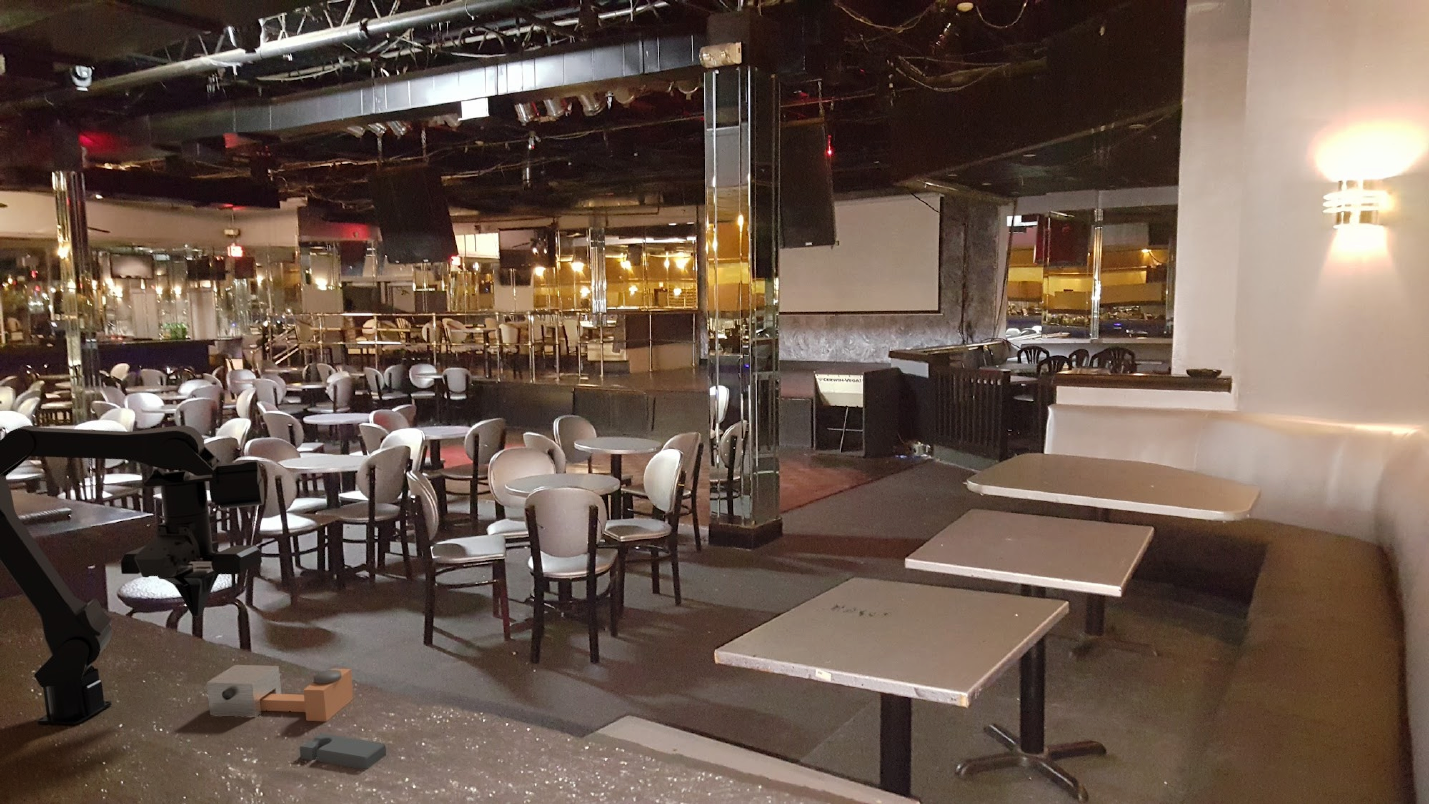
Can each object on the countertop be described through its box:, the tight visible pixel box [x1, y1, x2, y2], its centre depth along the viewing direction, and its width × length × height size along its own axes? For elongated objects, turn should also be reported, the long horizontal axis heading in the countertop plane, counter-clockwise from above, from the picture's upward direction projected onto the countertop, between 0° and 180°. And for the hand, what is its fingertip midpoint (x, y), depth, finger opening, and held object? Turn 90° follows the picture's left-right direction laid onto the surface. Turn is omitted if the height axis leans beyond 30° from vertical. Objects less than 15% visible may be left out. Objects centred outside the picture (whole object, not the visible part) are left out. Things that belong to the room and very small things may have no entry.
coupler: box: [260, 668, 354, 722], centre depth 129 cm, size 13×7×5 cm, turn 82°
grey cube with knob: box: [206, 664, 282, 718], centre depth 130 cm, size 7×7×5 cm
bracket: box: [299, 733, 387, 770], centre depth 115 cm, size 4×10×2 cm, turn 71°
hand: (197, 615), depth 134 cm, fingers closed
